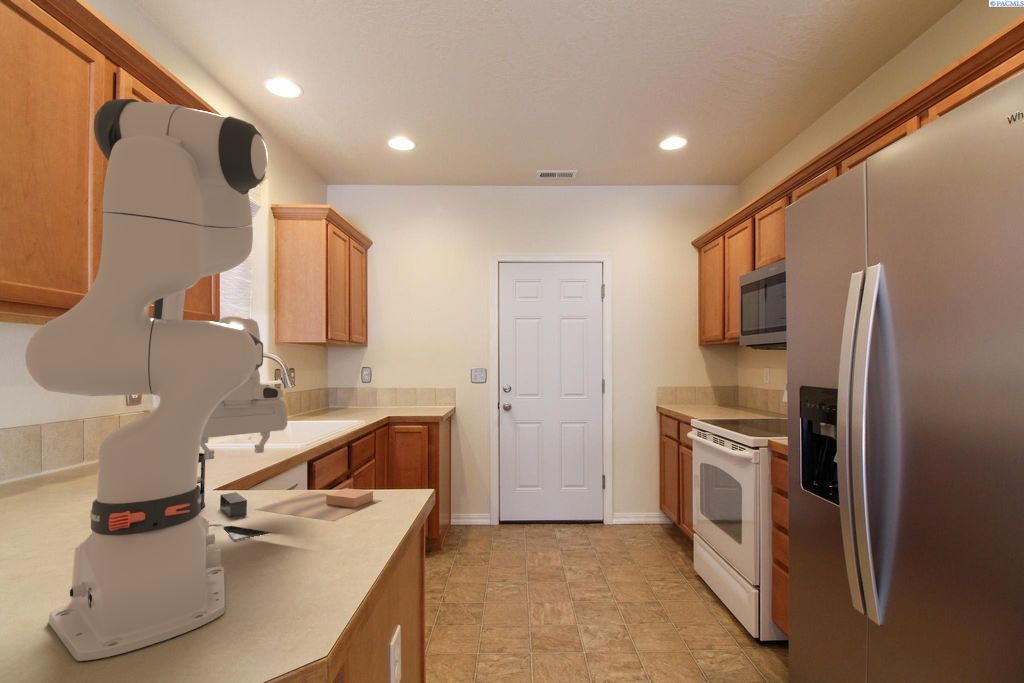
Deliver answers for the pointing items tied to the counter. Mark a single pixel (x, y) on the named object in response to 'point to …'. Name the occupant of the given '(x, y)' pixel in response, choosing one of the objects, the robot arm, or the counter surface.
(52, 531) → the counter surface
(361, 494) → the tile
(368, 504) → the board
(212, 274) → the robot arm
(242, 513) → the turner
